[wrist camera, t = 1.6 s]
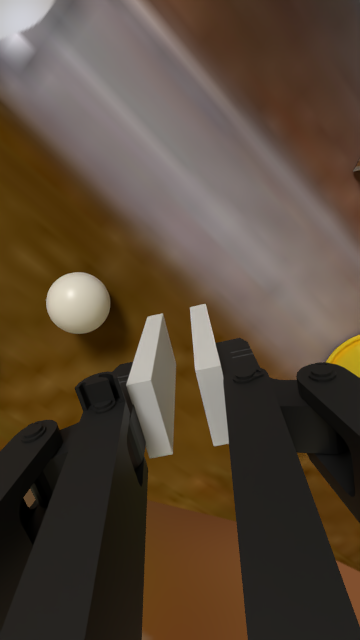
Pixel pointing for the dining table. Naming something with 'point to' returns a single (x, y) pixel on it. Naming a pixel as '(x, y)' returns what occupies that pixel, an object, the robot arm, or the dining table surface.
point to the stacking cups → (347, 355)
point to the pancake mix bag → (357, 166)
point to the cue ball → (78, 303)
